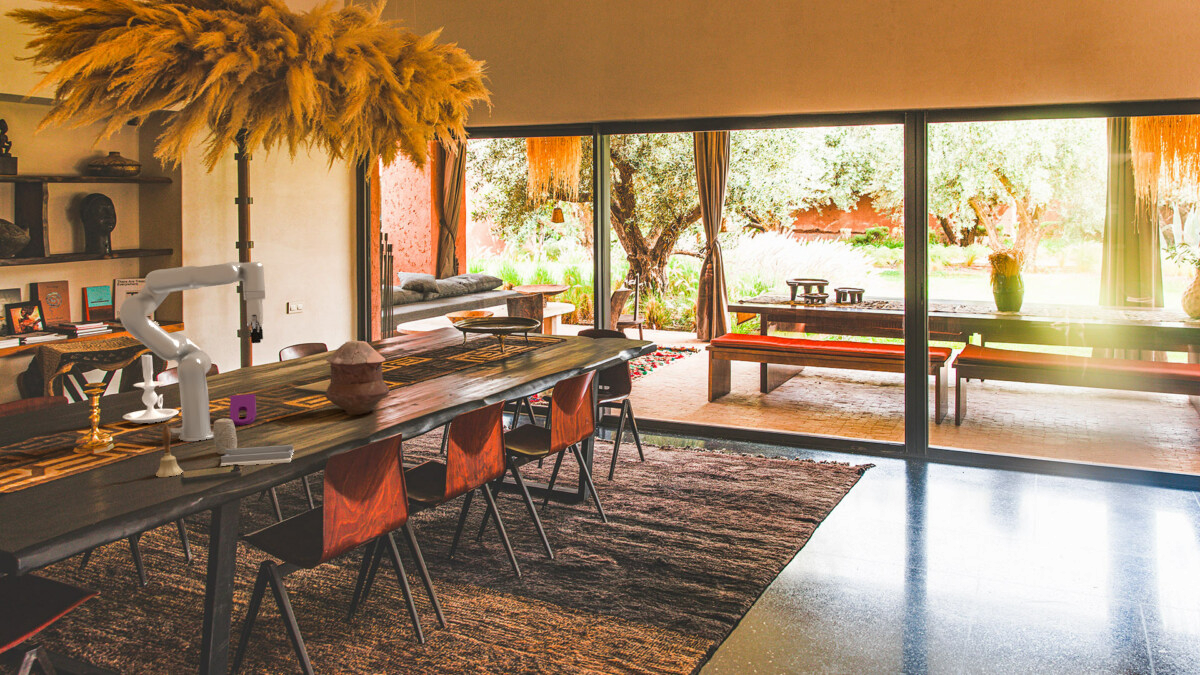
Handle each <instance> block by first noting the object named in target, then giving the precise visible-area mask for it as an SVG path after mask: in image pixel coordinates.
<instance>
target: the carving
mask: <svg viewBox="0 0 1200 675" xmlns="http://www.w3.org/2000/svg"><path fill="white" fill-rule="evenodd" d="M235 426H236V425H234V422H233V420H231V419H230V418H219V419H216V420H214V422H213V434H214V435H213V442H214V446H215V449H216V453H217V454H218V455H225V454H226V452H225V450H226V449H238V448H237V447H238V437H237V431H236V427H235Z"/></svg>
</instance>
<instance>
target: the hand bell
mask: <svg viewBox="0 0 1200 675" xmlns="http://www.w3.org/2000/svg"><path fill="white" fill-rule="evenodd" d="M170 430H171V429H170V428H169V426H168V425H167V424H166V425H165V424H164V425H163V426H162V430H161V438H162V442H163V445H164V455H163V457H161V458H160V464H159V468H158V470H157V471H156V473H155V474H156V476H158V477H157V478H170V477H169V476H172V477H176V475H177V476H180V475H182V474H183V473H184V469H182V468H181V467H180V466H179V465H178V461H177V459H176V456H174V455H172V454H171V446H170V445H171V437H172V436H171V431H170ZM182 472H183V473H182ZM181 473H182V474H181ZM156 476H155V477H156Z"/></svg>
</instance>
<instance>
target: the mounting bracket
mask: <svg viewBox="0 0 1200 675" xmlns="http://www.w3.org/2000/svg"><path fill="white" fill-rule="evenodd" d="M229 402H230V407H229V419H231V420H233V422H234V426H237V425H240V426H246V425H245V424H249V425H251V424H252V423H254V422H255V420H256V418H257V401H256V393H253V394H249V393H248V394H237V395H236V394H235V395H230V401H229ZM242 411H245V412H246V417H245V418H244V419H243V418H242V419H241V418H240V415H239V414H240V412H242ZM255 417H256V418H255Z"/></svg>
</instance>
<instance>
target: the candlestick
mask: <svg viewBox="0 0 1200 675" xmlns="http://www.w3.org/2000/svg"><path fill="white" fill-rule="evenodd" d="M141 366H142V374H143V376H142V377H143V378H142V379H144V382H136V383H134V384H132V386H133V387H136V388H141V389H143V390H144V392H143V394H142V397H141V401H142V402H143V404H144V405H145V406H146V408H147V409H143V410H137V411H133V412H129V413H126V414H124V415H123V416H122V419H125V420H127V421H130V422H131V423H135V424H142V423H148V424H156V423H155V422H157V423H162V422H165V421H168V420H170V419H172V418H173V417H175V416H176V415H177V414H179V413H180V411H179V410H178V409H175V408H163V404H164V403H163V402H164V398H163V395H164V394H163V393H162V394H159V395H157V393H156V391H155V388H156V387H158V386H162V385H164V384H165V382H164V381H161V380H160V381H159V380H157V381H154V380H153V375H154V368H153V356H152V354H151V355H150V354H149V353H147V354H141ZM156 404H157V406H158V407H159V408H154V406H155V405H156ZM161 421H162V422H161Z"/></svg>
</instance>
